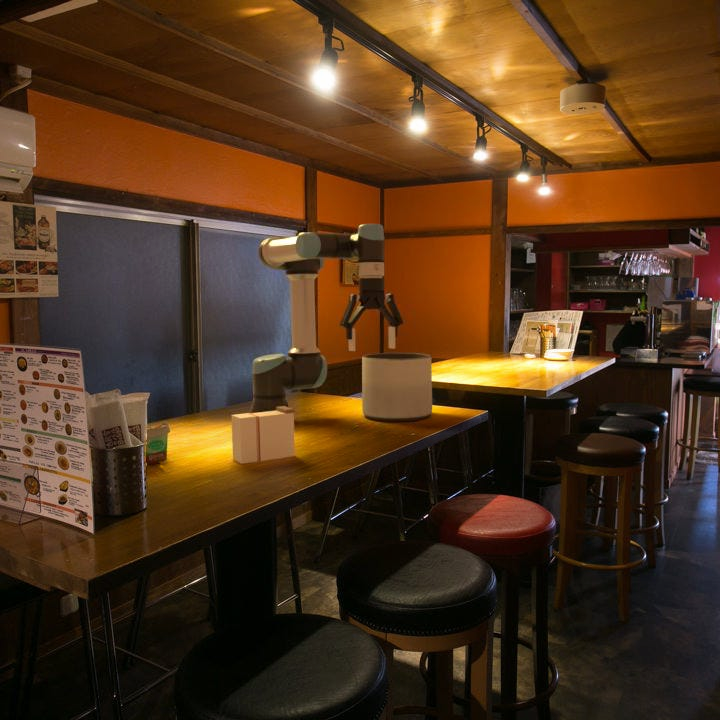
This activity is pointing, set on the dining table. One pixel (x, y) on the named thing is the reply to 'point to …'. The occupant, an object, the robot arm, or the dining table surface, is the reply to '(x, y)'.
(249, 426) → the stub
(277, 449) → the cream rectangular box
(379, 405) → the planter
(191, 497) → the dining table surface
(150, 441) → the food container
